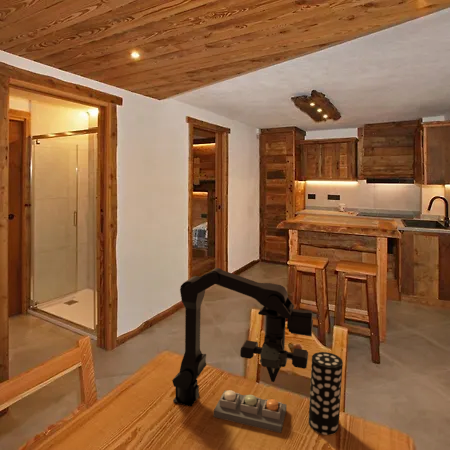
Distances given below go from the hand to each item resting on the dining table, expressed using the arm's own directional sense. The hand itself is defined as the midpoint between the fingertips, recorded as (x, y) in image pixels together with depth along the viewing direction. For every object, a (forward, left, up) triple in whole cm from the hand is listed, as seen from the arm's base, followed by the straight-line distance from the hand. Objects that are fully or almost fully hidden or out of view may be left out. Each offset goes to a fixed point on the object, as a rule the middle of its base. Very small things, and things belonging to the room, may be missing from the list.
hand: (273, 381), depth 100 cm
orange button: (0, 0, -9) cm, 9 cm away
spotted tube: (+15, +2, -12) cm, 19 cm away
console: (-6, 0, -12) cm, 13 cm away
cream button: (-13, 0, -9) cm, 16 cm away
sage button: (-6, 0, -9) cm, 11 cm away
